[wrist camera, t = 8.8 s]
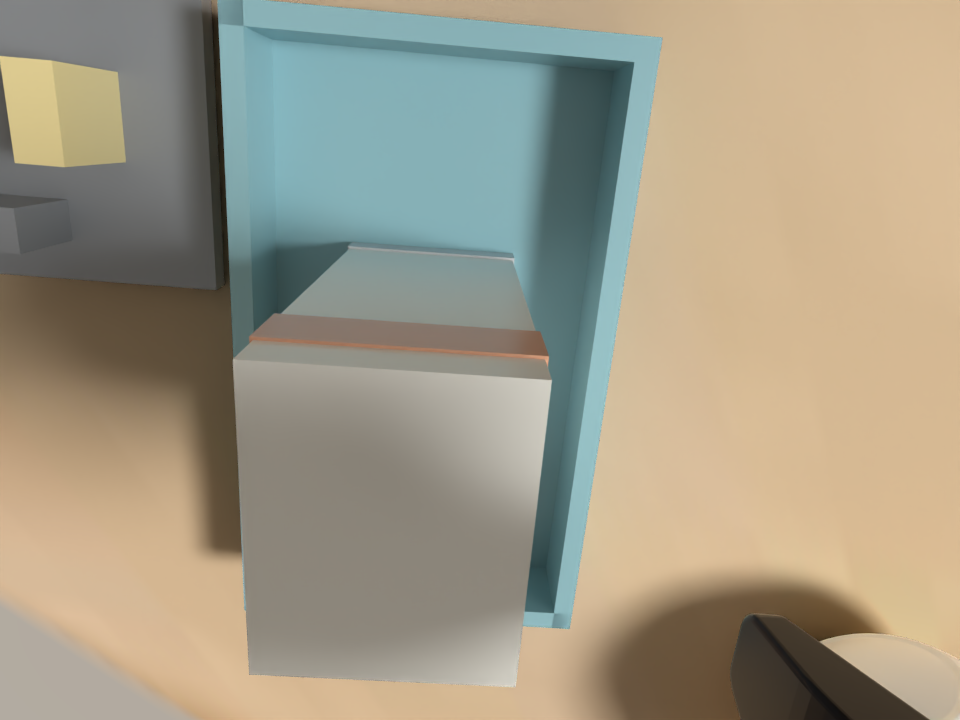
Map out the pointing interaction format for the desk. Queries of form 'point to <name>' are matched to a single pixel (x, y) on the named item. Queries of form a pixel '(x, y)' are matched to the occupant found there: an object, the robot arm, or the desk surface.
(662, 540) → the desk surface
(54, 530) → the desk surface
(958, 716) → the white round lump
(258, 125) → the tray
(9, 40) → the fuse block
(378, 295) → the block
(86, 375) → the desk surface
